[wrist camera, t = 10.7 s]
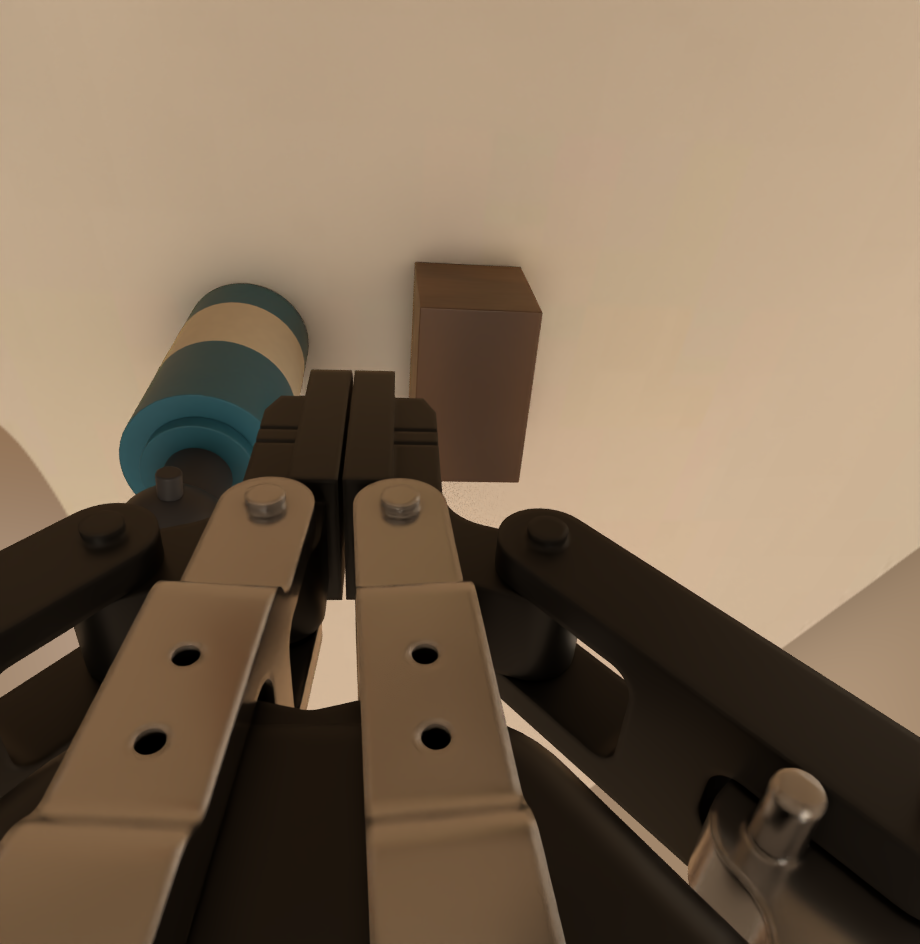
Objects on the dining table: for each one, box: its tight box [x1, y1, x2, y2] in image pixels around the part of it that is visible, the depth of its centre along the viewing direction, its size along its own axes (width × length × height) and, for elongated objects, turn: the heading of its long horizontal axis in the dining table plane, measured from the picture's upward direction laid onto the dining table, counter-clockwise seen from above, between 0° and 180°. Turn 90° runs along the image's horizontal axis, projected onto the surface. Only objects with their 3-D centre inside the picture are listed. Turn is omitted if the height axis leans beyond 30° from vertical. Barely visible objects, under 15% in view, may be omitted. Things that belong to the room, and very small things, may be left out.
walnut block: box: [409, 262, 542, 483], centre depth 42 cm, size 6×10×7 cm, turn 176°
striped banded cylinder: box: [119, 284, 309, 529], centre depth 36 cm, size 17×7×19 cm
